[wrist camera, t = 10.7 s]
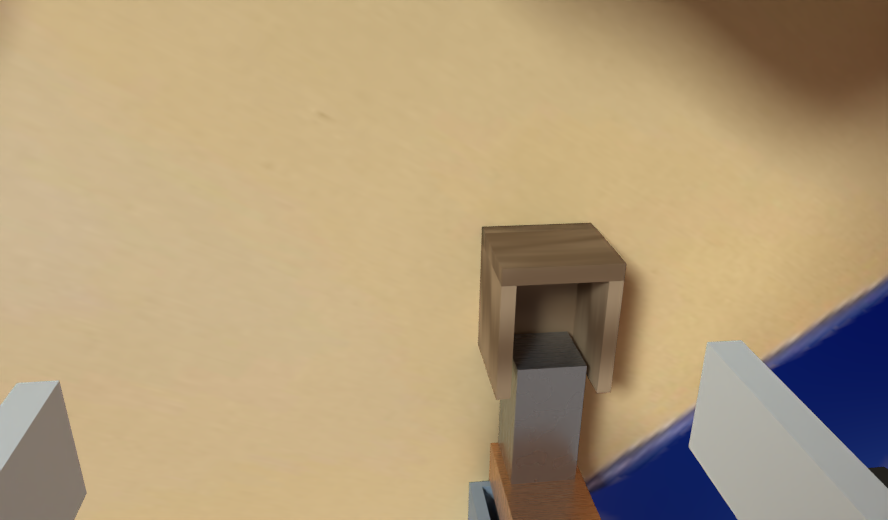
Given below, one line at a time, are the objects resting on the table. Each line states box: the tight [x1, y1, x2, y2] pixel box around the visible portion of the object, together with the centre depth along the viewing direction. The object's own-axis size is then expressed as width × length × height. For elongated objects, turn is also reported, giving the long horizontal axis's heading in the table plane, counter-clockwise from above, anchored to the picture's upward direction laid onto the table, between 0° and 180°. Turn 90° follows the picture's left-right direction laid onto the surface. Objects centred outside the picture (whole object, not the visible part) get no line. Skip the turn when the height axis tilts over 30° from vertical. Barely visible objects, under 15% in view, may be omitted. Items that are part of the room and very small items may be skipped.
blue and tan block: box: [489, 331, 601, 520], centre depth 43 cm, size 14×5×9 cm, turn 179°
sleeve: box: [478, 223, 626, 400], centre depth 42 cm, size 8×7×6 cm
